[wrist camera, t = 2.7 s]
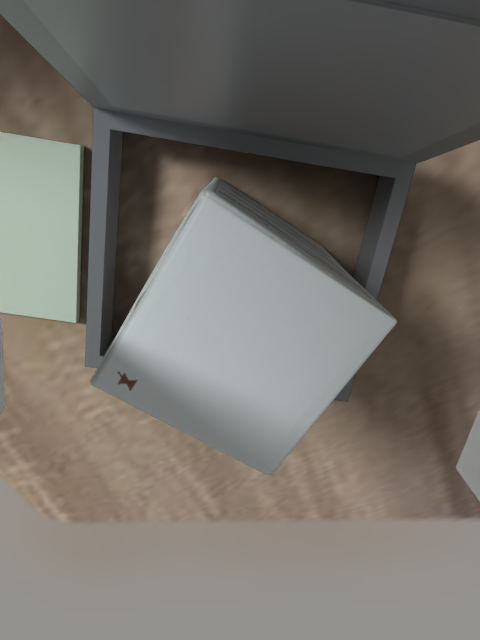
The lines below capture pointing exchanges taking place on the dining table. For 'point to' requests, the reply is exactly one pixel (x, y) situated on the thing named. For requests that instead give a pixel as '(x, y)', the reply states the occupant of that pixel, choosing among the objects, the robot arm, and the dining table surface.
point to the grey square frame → (114, 123)
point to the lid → (275, 66)
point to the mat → (40, 227)
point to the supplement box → (242, 331)
